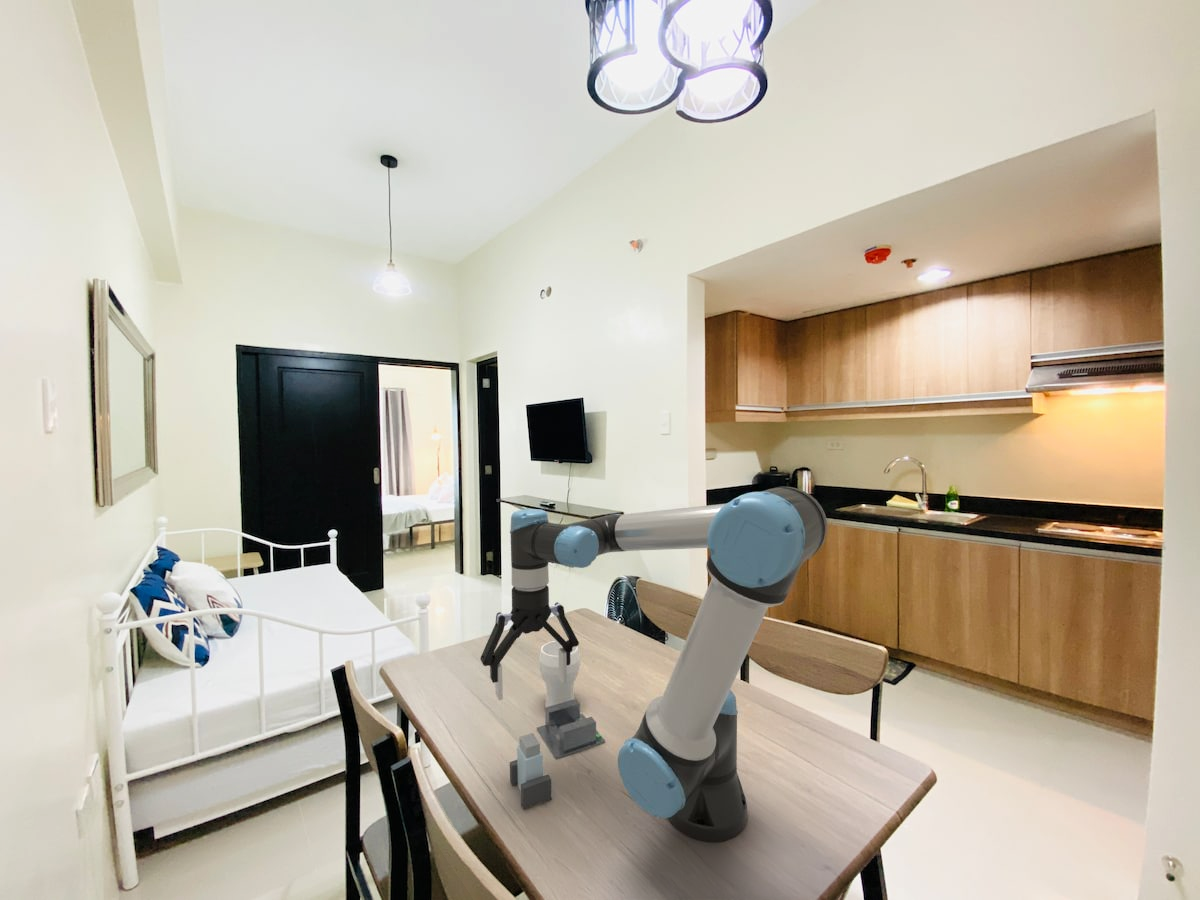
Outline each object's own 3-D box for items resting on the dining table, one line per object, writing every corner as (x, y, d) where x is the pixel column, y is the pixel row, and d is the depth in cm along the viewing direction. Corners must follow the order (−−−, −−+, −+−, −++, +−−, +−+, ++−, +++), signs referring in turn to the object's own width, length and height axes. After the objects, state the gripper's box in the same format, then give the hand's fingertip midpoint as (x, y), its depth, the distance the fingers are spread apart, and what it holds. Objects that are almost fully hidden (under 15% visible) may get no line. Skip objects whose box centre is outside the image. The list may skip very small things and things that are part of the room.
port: (605, 742, 109) (604, 720, 109) (556, 759, 103) (555, 736, 103) (582, 715, 120) (582, 695, 119) (536, 729, 114) (536, 708, 114)
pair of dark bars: (551, 799, 92) (551, 778, 92) (523, 809, 89) (523, 788, 89) (536, 772, 99) (536, 753, 99) (510, 781, 97) (509, 762, 97)
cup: (574, 719, 118) (574, 658, 118) (533, 714, 120) (533, 655, 120) (584, 696, 129) (584, 640, 128) (546, 692, 131) (546, 637, 130)
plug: (543, 795, 93) (542, 744, 93) (525, 801, 91) (525, 750, 91) (534, 779, 97) (533, 730, 97) (517, 785, 96) (517, 736, 96)
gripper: (578, 573, 107) (580, 667, 107) (464, 589, 96) (466, 694, 96) (593, 581, 100) (594, 682, 101) (471, 600, 89) (474, 713, 90)
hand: (531, 688), depth 98 cm, fingers open, 13 cm apart
